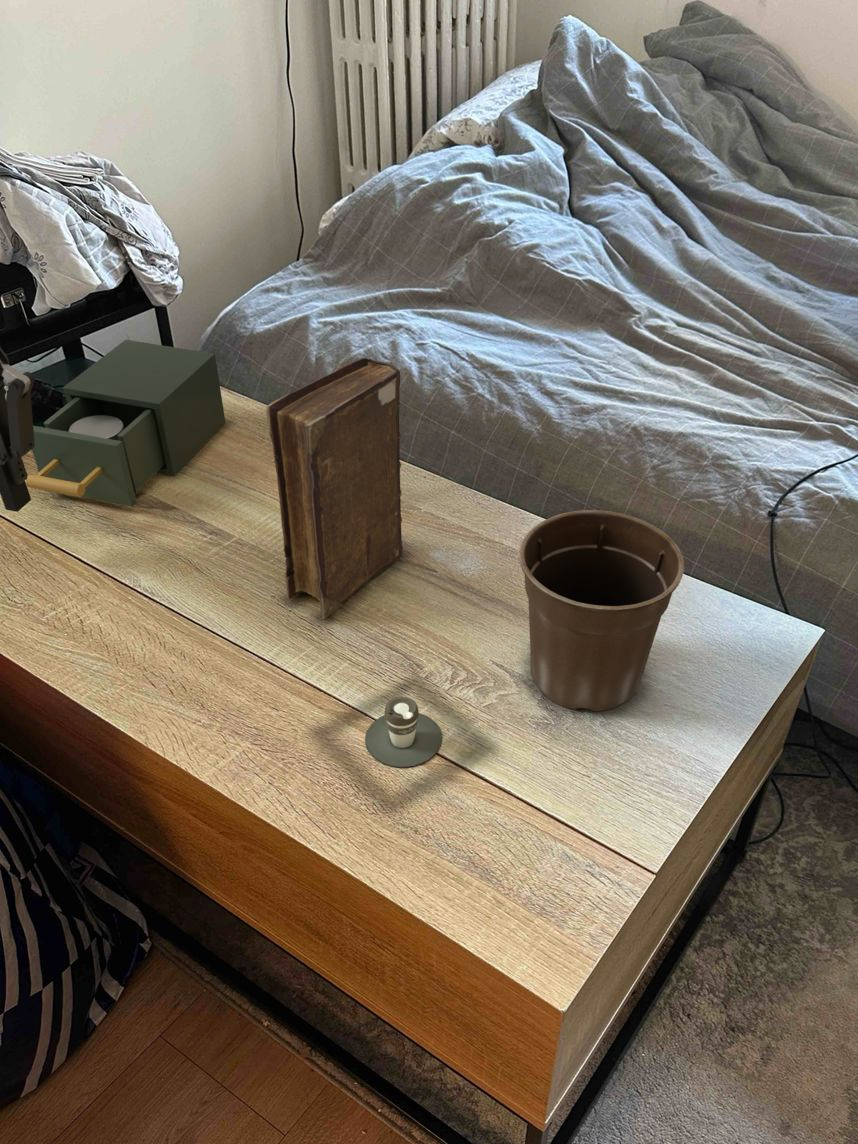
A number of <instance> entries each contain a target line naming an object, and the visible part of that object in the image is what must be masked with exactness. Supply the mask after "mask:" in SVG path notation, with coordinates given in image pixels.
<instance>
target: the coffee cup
mask: <svg viewBox="0 0 858 1144" xmlns="http://www.w3.org/2000/svg"><path fill="white" fill-rule="evenodd" d="M383 714H384V715H382V716H380V717H378V718H377V719H375V720H374V721H373V722H371V724H370V725H369V727H368V729H367V730H366V733H365V737H364V742H365V747H366V749H367V751H368V753H369V755H371V756H372V757H373V758H374V759H375V760H376V761H377V762H379V763H381V764H382V765H384V766H389V767H392V768H410V767H416V766H419V765H422V764H424V763H426V762H428V761H429V760H431V759H432V758H434V757H435V756H436V755H437V754H438V752H439V751H440V749H441V746H442V742H443V734H442V731H441V729H440V727H439V725H438V724H437V723H436V721H434V720H433V719H432V718H431V717H429V716H427V715H425V714H423V713H420V712H419V707H418V704H417V702H416V701H415V700H414V699H412V698H411V697H408V696H396V697H393V698H391V699H390V700H388V701H387V703H386V704H385V706H384V713H383Z"/></svg>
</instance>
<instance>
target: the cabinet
mask: <svg viewBox="0 0 858 1144" xmlns="http://www.w3.org/2000/svg"><path fill="white" fill-rule="evenodd" d="M62 389H63V390H62V391H63V393H64V396H65V400H66V405H67V404H68V403H69V402H70V401H72V400H73V399H74V398H75V397H77V396H80V397H86V398H92V399H98V400H104V401H110V402H115V403H121V404H127V405H133V406H139V407H145V408H151V409H155V414H156V419H157V424H158V428H159V433H160V438H161V443H162V447H163V452H164V457H165V461H166V464H165V465H164V466H163V467H162V468H161V469H160V470H159V471H158V472H157V473H156V474H158V475H163V476H168V477H175V476H176V475H178V473H180V471H181V470H182V469H183V468H185V466H186V465H187V464H188V463H189V462H190V461H191V460H192V459H193V458H194V457H195V456H196V455H197V454H198V453H199V452H200V450H202V448H203V447H204V446H205V445H206V444H208V443H209V441H210V440H212V438H214V436H216V434H217V433H218V432H219V431H220V430H221V429H222V428H223V427H224V426H225V425H226V423H227V422H226V415H225V409H224V408H225V407H224V403H223V397H222V390H221V385H220V377H219V372H218V366H217V359H216V353H212V352H207V351H199V350H193V349H188V348H183V347H182V348H181V347H174V346H169V345H161V344H156V343H150V342H144V341H138V340H130V339H124V340H123V341H122V342H120V343H119V344H117V346H115V347H114V348H113V349H111V350H110V351H109V352H107V353H106V354H105V355H103V356H102V357H101V358H99V359H98V360H97V361H96V362H94V363H92V364H91V365H90V366H89V367H88V368H86V369H85V370H84V371H83V372H81V373H80V374H78V375H77V376H76V377H75V378H74V379H72V380H71V381H70V382H68V383H67V384H65V385H64V386H63V387H62Z"/></svg>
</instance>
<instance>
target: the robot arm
mask: <svg viewBox="0 0 858 1144" xmlns="http://www.w3.org/2000/svg"><path fill="white" fill-rule="evenodd" d="M35 381H36V377H35V375H34V374H33V373H32V372H30V371H25V372H23V373H21V372H20V371H18V370H17V369H16V368H14V367H12V365H10V359H9V358H8V356H7V355H6V353H5V352H4V350H3V349H2V347H1V346H0V497H1V500H2V503H3V506H4V508H5V510H6V511H10V512H16V513H18V512H20V511H21V510H22V509H23V508H24V507H25V506H27V504H28V503H29V502H31V501H32V497H31V494H30V492H29V487H28V486H27V484H26V479H27V476H28V472H27V469H26V466H25V462H24V460H23V457H24V456H26V455H27V454H28V453H29V452H32V449H33V448H34V446H35V443H34V430H33V426H34V419H33V406H32V405H33V404H32V393H31V392H32V389H33V388H34V387H33V386H34V383H35Z"/></svg>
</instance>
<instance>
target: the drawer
mask: <svg viewBox="0 0 858 1144" xmlns="http://www.w3.org/2000/svg"><path fill="white" fill-rule="evenodd" d="M97 415H106V416H112V417H116V418H118V419H120V420H121V421H122V423H123V425H124V430H123V431H122V432H121V433H120V434H118V435H117V437H118V441H117V440H112V439H106V438H100V437H95V436H89V435H83V434H78V433H72V432H69V428H70V426H71V425H72V424H73V423H75V422H76V421H78V420H80V419H83V418H86V417H90V416H97ZM43 425H44V427H42V426H38V425H33V430H34V443H35V446H34V448H33V449H32V450H31V452H32V456H33V459H34V462H35V465H36V468H37V473H36V474H33V473H32V474H27V479H26V480H25V482H26V485H27V488H31V489H36V490H40V491H45V492H49V493H56V494H61V495H66V496H70V497H77V498H81V499H87V500H93V501H97V502H103V503H108V504H114V505H118V506H124V507H129V508H133V507H134V506H135V505H136V504H138V503H137V502H138V501H137V497H136V494H138V493H139V491H140V490H142V488H143V487H144V486H145V485H146V484H147V483H148V482H149V481H151V480H152V479H153V477H155V475H156V474H157V472H158V471H159V470H160V469H161V468H162V467H163V466H164V465H165V464H166V461H165V457H164V452H163V447H162V443H161V438H160V433H159V428H158V424H157V419H156V414H155V409H151V408H145V407H139V406H133V405H127V404H121V403H115V402H110V401H104V400H98V399H92V398H86V397H80V396H77V397H75V398H74V399H73V400H72V401H70V402H69V403H68V404H67V403H66V404H65V405H64V406H63V407H62V408H60V409H59V410H58V411H56V412H55V413H54V414H53V415H52V416H50V417H49V418H48V419H46V420H45V421H44V422H43Z"/></svg>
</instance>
